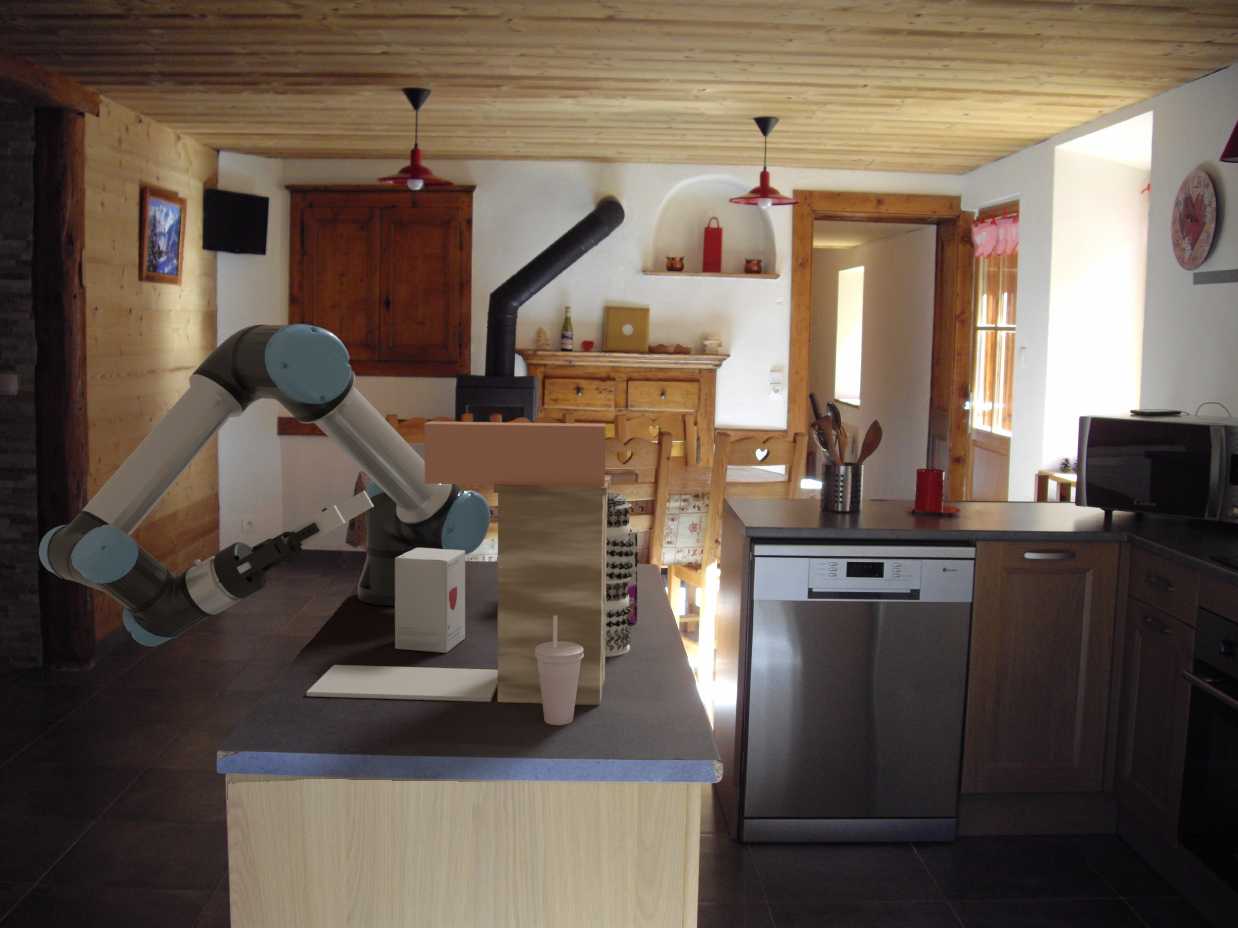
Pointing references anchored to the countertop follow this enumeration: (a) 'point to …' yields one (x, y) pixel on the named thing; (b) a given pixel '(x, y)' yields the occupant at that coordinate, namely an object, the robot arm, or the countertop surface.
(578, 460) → the block
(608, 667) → the countertop surface
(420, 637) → the supplement box
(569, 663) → the smoothie
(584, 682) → the stand
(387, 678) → the mat
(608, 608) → the decorative candle
